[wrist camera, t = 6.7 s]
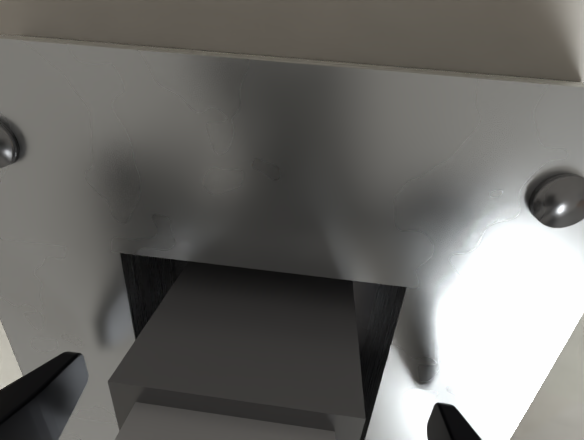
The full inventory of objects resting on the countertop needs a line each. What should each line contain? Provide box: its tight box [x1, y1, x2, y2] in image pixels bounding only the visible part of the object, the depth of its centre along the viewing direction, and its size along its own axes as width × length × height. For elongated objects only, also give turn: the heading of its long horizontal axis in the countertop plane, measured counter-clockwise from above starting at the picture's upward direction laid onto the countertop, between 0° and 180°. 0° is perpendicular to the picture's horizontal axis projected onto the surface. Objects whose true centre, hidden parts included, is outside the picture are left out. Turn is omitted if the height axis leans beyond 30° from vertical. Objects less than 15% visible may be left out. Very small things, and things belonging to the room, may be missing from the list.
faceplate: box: [0, 35, 584, 440], centre depth 10 cm, size 15×14×4 cm
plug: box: [108, 261, 366, 440], centre depth 8 cm, size 4×4×7 cm
